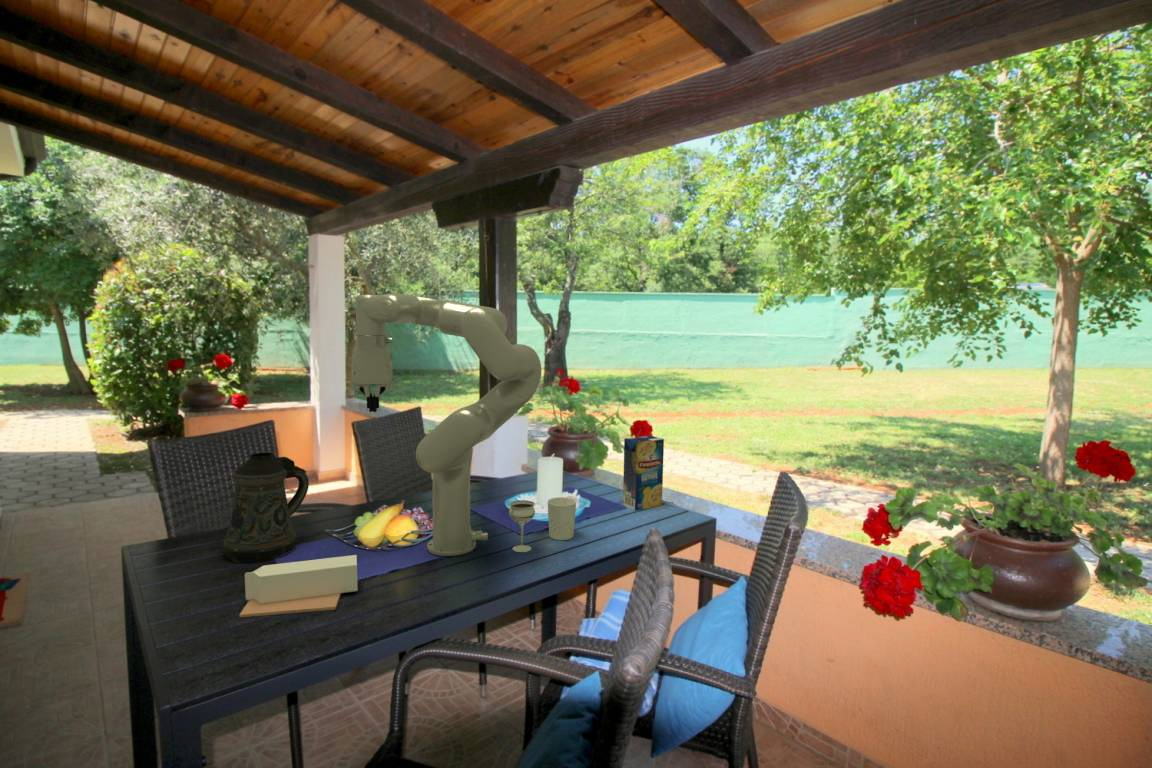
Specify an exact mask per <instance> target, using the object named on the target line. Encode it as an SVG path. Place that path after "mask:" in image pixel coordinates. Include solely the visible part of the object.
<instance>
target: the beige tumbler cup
mask: <svg viewBox="0 0 1152 768" xmlns="http://www.w3.org/2000/svg"><path fill="white" fill-rule="evenodd" d="M576 509H577V501H576V499H574V498H571V497H565V496H559V497H553V498H550V499H548V500H547V519H548V520H547V521H548V533H549V534H548V536H549V538H551V539H553V540H555V541H556V540H557V541H568V540H571V539H573V538H574V532H575V531H574V530H575V525H576V524H575V523H576Z"/></svg>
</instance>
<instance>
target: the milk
mask: <svg viewBox="0 0 1152 768" xmlns="http://www.w3.org/2000/svg"><path fill="white" fill-rule="evenodd" d="M357 559H358V556H357V554H352V555H345V556H344V555H343V556H335V557H326V558H317V559H311V560H310V559H309V560H301V561H300V560H299V561H290V562H283V563H275V564H266V565H262V566H260V567H259V568H257V569H255V570H254V571H250V572H248V571H247V572H245V573H244V587H245V588H244V590H245V600H247V601H249V600H251V599H255V600H256V601H257V602H259V603H260V604H264V603H271V602H279V601H286V600H293V599H301V598H308V597H316V596H323V595H330V594H338V593H341V594H344V593H352V592H353V593H354V592H358V589H359V587H358V562H357V561H358V560H357Z"/></svg>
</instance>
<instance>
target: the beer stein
mask: <svg viewBox="0 0 1152 768" xmlns="http://www.w3.org/2000/svg"><path fill="white" fill-rule="evenodd" d="M231 477H232V481H233V483H234V494H233V499H232V508H231V516H230V520H229V521H230V522H229V524H228V525H229V526H228V528H227V533H226V534H225V538H224V540H223V549H224V551H225V556H226V558H228V560H229V559H230V560H229V561H232V562H234V563H243V562H253V563H257V562H256V561H260V562H265V561H266V560H268V561H270V560H269V559H271V560H273V559H272V558H275V557H277V556H281V555H283V554H285V553H287V552H289V551H291V550H292V549H293V548H294V549H295V543H296V539H297V533H296V530H295V529H294V527H293V524H292V520H291V517H292V516H293V515H294V513H295V512H297V510H298V508H300V506H301V504H302V503H303V501H304V499H305V497H306V496H307V494H308V490H309V485H310V481H309V480H310V479H309V477H308V474H307V471H306V469H304V468H301V467H299V466H297V465H295V462H294V460H292V459H291V458H289V457H288V456H287V457H286V456H279V457H277V456H275V455H274V453H273V452H258V453H253V454H250V456H249V459H247V460H246V461H245V462H244V463H243V464H242V465H240V466H239V467H238V468H236V469H235V470H234V472H233V473H232V475H231ZM291 478H295V479H297V480H298V487H297V488H296V491H295V493H294V494H293V496H292V497H291V499H290V500H289V501H288V498H287V493H286V489H285V488H286V487H285V479H291ZM294 549H293V550H294ZM293 550H292V551H293ZM292 551H291V552H292ZM289 553H290V552H289ZM281 557H282V556H281ZM275 559H276V558H275ZM266 562H267V561H266Z"/></svg>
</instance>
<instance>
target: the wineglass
mask: <svg viewBox="0 0 1152 768" xmlns="http://www.w3.org/2000/svg"><path fill="white" fill-rule="evenodd" d="M508 505H509V507H510V508H509V510H508V514H509V517H510V519H511V520H512V521H513V522H514V523H516V524H518V525H519V526H520V544H519V545H515V546H513V547H512V550H513V551H514V552H518V553H527V552H529V551H531V550H532V547H531V546H530V545H526V544H523V543H524V542H523V541H524V526H525V525H526V524H527V523H530V522H531V521H532V520H533V518H534V517H535V514H536V510H535V507H534V506H535V505H536V504H535V502H534V501H532V500H531V501H530V500H526V499H525V500H523V499H521V500H519V499H518V500H514V501H511V502H510V503H509V504H508Z"/></svg>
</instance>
